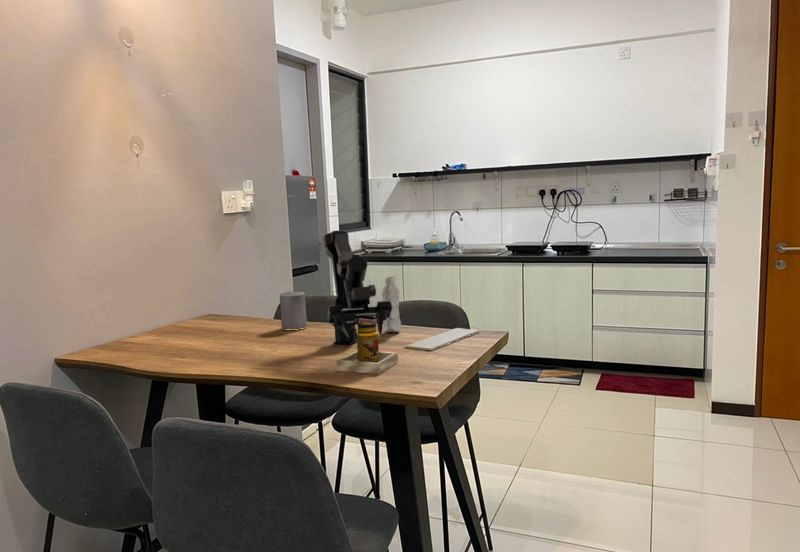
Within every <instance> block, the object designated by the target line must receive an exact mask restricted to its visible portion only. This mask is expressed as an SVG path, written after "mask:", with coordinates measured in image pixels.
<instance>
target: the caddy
mask: <svg viewBox="0 0 800 552" xmlns="http://www.w3.org/2000/svg"><path fill="white" fill-rule="evenodd" d="M355 360H358V352H357V350H355V351H352V352H351V353H349V354H348V355H345V356H344V357H341V358H340V359H338V360H336V371H337V372H349V373H361V374H374V375H375V374H376V375H377V374H378V375H380V374H382V373H383V372H385V371H386V370H388V369H389V368H392V366H395V365H396V364H397V363H399V353H398V352H391V351H379V362H378V363H373V362H359V361H355Z"/></svg>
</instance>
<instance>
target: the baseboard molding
mask: <svg viewBox="0 0 800 552" xmlns="http://www.w3.org/2000/svg"><path fill="white" fill-rule="evenodd" d="M454 327H456V325H455V324H454V325H453V326H452V327H451V326H450V330H447V331H445V332H441V333H439V334H436V336H435V335H432V336H431V337H427V338H424V339H422V340H419V342H418V341H416V342H414V343H411V344H407V345H405V346H403V347H406V348H405V349H408V348H414V349H413V350H416V349H422V350H421V351H424V350H430V351H429V352H432V351H431V350H433V349H435V350H437V349H436V348H438V347H440V348H442V347H441V346H443V345H446V344H448V343H451V342H453V341H456V340H459V339H461V338H464V337H466V338H468V337H467V336H469V335H472V334H474V335H477V334H480V330H479V329H474V328H475V327H473V326H472V328H473V329H471V328H466V327H468V324H463V325H462V327H465V328H462V327H461V328H460V327H456V328H454ZM476 331H479V332H476ZM476 333H477V334H476ZM472 336H473V335H472ZM469 337H470V336H469ZM464 339H465V338H464ZM461 340H462V339H461ZM459 341H460V340H459ZM456 342H457V341H456ZM453 343H454V342H453ZM451 344H452V343H451ZM448 345H449V344H448ZM446 346H447V345H446ZM443 347H444V346H443ZM438 349H439V348H438ZM433 351H434V350H433Z"/></svg>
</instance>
